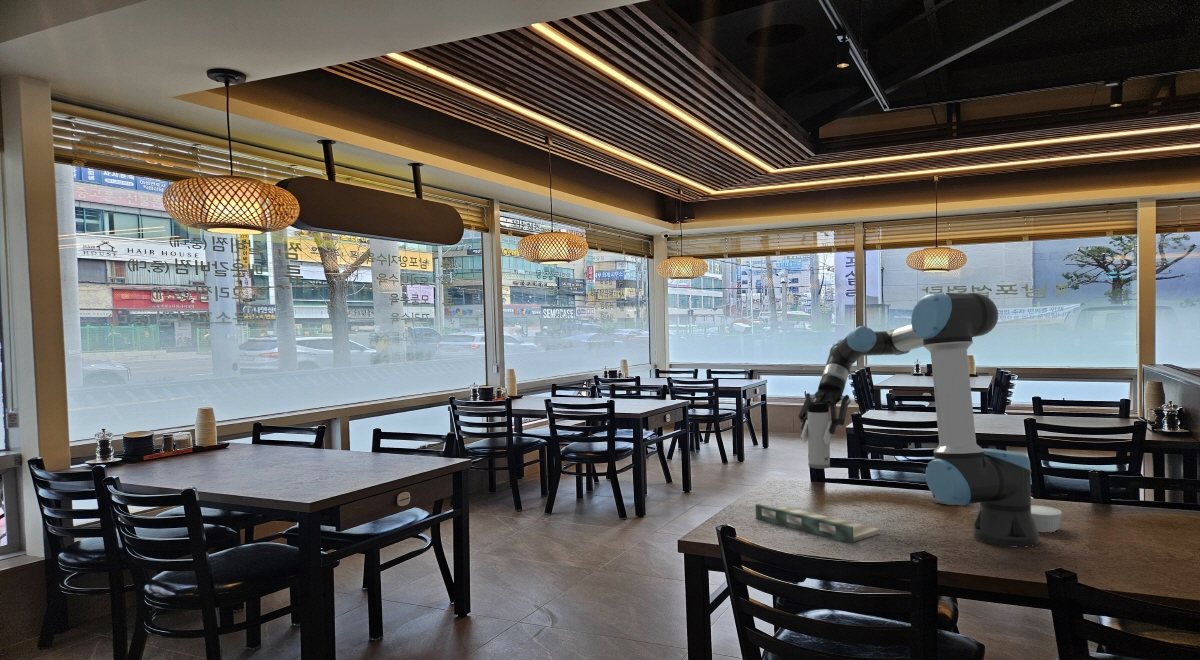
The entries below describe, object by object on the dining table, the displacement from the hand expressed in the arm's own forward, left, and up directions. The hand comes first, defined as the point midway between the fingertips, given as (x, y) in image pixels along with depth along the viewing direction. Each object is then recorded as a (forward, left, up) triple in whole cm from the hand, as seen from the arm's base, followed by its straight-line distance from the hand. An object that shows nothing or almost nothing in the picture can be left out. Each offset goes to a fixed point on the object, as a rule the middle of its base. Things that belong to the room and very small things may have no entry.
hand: (814, 440), depth 219 cm
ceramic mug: (-17, -44, -23) cm, 53 cm away
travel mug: (+1, -3, -9) cm, 9 cm away
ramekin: (-48, -33, -23) cm, 63 cm away
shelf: (-7, +10, -22) cm, 25 cm away
